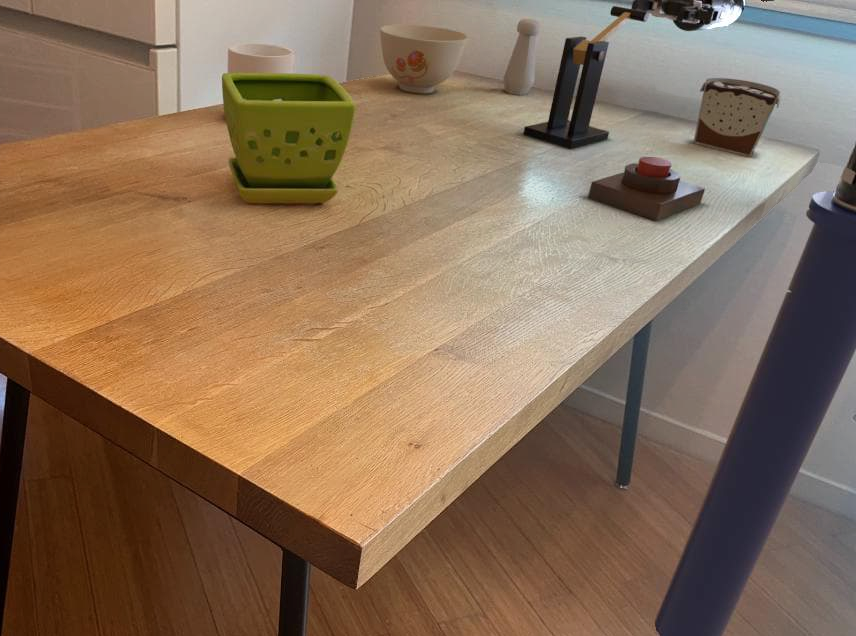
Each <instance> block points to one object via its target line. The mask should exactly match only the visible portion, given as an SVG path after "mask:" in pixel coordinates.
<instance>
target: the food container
mask: <svg viewBox="0 0 856 636" xmlns="http://www.w3.org/2000/svg"><path fill="white" fill-rule="evenodd" d="M699 92H700V93H701V92H703V93H702V98H701V102H700V107H699V113H698V118H697V123H696V126H695V127H696V128H695V133H694V137H693V143H694V144H696V145H701V146H704V147H709V148H713V149H717V150H720V151H725V152H729V153H733V154H736V155H741V156H745V157H748V158H750V157H752V156H753V154H754V153H755V150H756V148H757V145H758V143H759V141H760V140H761V137H762V135H763V132H764V130H765V128H766V127H767V123H768V121H769V119H770V117H771V115H772V113H773V111H774V108H775V107H776V109H778V108H780V104H781V97H782V96H781V95H780V94H781V91H780V89H778V88H775V87H773V86H771V85H768V84H764V83H759V82H754V81H750V80H744V79H737V78H728V77H709V78H706V80H705V82H703V83H702V86H701V87H700V89H699Z"/></svg>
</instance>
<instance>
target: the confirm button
mask: <svg viewBox="0 0 856 636" xmlns="http://www.w3.org/2000/svg"><path fill="white" fill-rule="evenodd" d="M637 164H638V167H637V172H639V173H642V174H645V175H648V176H654V177H668V175H669V171H670V169H672V165H673V163H672V162H670V161H669V160H667V159H665V158H661V157H655V156H642V157H640V158H639V160H638V163H637Z"/></svg>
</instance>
